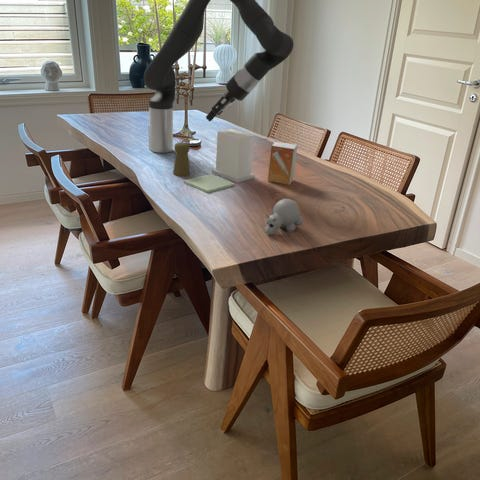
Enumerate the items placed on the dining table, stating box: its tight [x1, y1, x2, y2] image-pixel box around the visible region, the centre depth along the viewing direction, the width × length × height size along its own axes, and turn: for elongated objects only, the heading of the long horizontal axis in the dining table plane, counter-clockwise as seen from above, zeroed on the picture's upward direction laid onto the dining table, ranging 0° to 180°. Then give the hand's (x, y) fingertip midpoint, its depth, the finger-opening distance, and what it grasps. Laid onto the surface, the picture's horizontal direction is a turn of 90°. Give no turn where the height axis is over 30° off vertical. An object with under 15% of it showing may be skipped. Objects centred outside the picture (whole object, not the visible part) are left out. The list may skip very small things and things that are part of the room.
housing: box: [211, 128, 256, 184], centre depth 162 cm, size 13×9×15 cm
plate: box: [183, 173, 235, 194], centre depth 155 cm, size 12×12×1 cm
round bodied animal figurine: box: [264, 198, 304, 236], centre depth 124 cm, size 7×12×8 cm, turn 129°
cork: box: [173, 141, 191, 177], centre depth 161 cm, size 6×6×11 cm
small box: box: [267, 141, 298, 186], centre depth 160 cm, size 8×6×13 cm
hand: (212, 116), depth 158 cm, fingers open, 8 cm apart
